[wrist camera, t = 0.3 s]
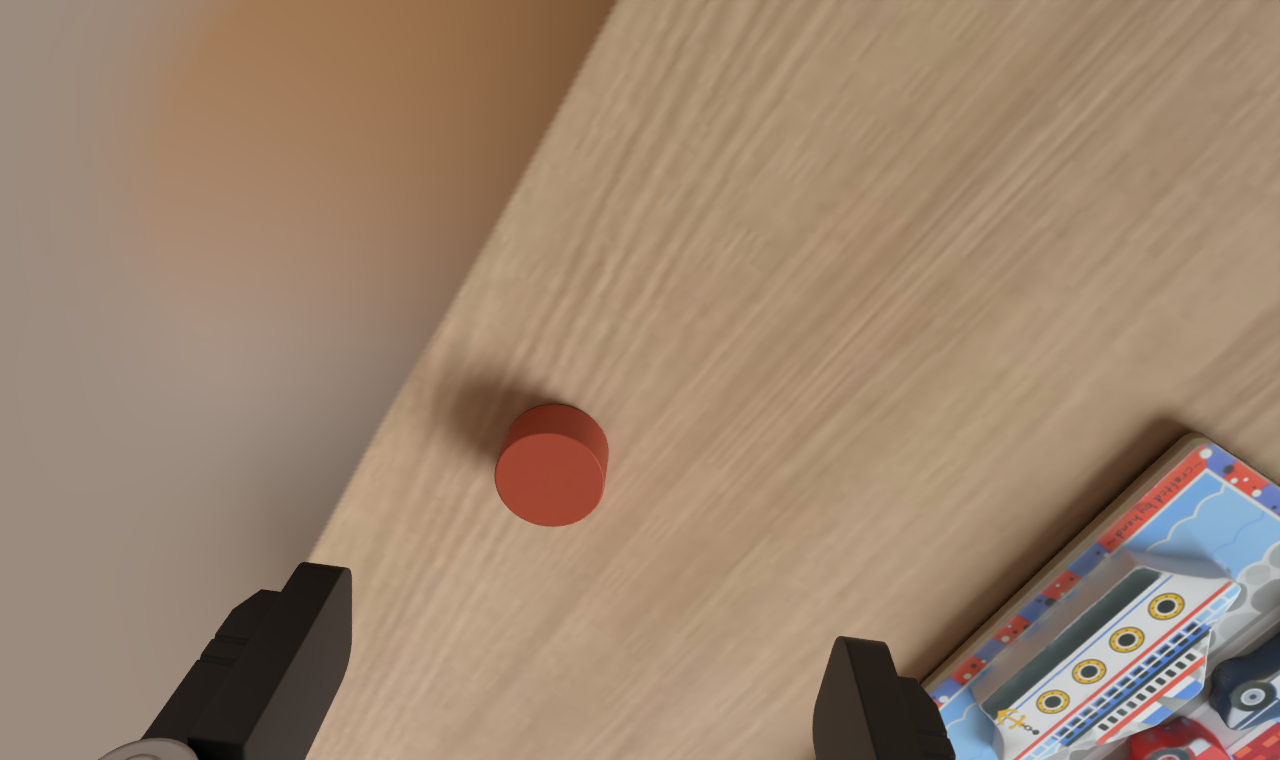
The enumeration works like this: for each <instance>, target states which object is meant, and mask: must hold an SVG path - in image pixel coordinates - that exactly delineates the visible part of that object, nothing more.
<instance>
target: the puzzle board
mask: <svg viewBox="0 0 1280 760" xmlns="http://www.w3.org/2000/svg"><path fill="white" fill-rule="evenodd" d="M920 685H921V686H922V687H923V688H924V690H925V691H926V692H927V693H928V695H929V696H930V697H931V698H932V699H933V701H934V702H935V703H936V704H937V706H938V709H939V711H940V714H941V717H942V719H943V722H944V725H945V728H946V730H947V738H950V741H951V744H952V746H953V749H954V752H955V754H956V760H1280V486H1279V485H1278V484H1276V483H1275V482H1273V481H1272V480H1270V479H1269V478H1267V477H1266V476H1265V475H1263V474H1262V473H1260V472H1259V471H1257V470H1255V469H1254V468H1252V467H1251V466H1249V465H1248V464H1246V463H1245V462H1243V461H1242V460H1240V459H1239V458H1237V457H1236V456H1234V455H1233V454H1231V453H1230V452H1228V451H1227V450H1225V449H1224V448H1222V447H1221V446H1220V445H1218V444H1217V443H1215V442H1214V441H1212V440H1211V439H1209V438H1208V437H1206V436H1205V435H1203V434H1201V433H1196V432H1195V433H1187V434H1186V435H1184V436H1182V437H1181V438H1180V439H1179V440H1178V441H1177V442H1176V443H1175V444H1174V445H1173V446H1172V447H1170V448H1169V449H1168V450H1167V451H1166V452H1165V453H1164V454H1163V455H1162V456H1161V457H1160V458H1159V459H1157V460H1156V461H1155V462H1154V463H1153V464H1152V465H1151V466H1150V467H1149V468H1148V469H1147V470H1146V471H1145V472H1143V473H1142V474H1141V475H1140V476H1139V477H1138V478H1137V479H1136V480H1135V481H1134V482H1133V483H1132V484H1131V485H1130V486H1129V487H1128V488H1127V489H1126V490H1124V491H1123V492H1122V493H1121V494H1120V495H1119V496H1118V497H1117V498H1116V499H1115V500H1114V501H1113V502H1112V503H1111V504H1110V505H1109V506H1108V507H1107V508H1106V509H1104V510H1103V511H1102V512H1101V513H1100V514H1099V515H1098V516H1097V517H1096V518H1095V519H1094V520H1093V521H1092V522H1091V523H1090V524H1089V525H1088V526H1087V527H1085V528H1084V529H1083V530H1082V531H1081V532H1080V533H1079V534H1078V535H1077V536H1076V537H1075V538H1074V539H1073V540H1072V541H1071V542H1070V543H1069V544H1068V545H1067V546H1065V547H1064V548H1063V549H1062V550H1061V551H1060V552H1059V553H1058V554H1057V555H1056V556H1055V557H1054V558H1053V559H1052V560H1051V561H1050V562H1049V563H1048V564H1047V565H1045V566H1044V567H1043V568H1042V569H1041V570H1040V571H1039V572H1038V573H1037V574H1036V575H1035V576H1034V577H1033V578H1032V579H1031V580H1030V581H1029V582H1028V583H1027V584H1026V585H1024V586H1023V587H1022V588H1021V589H1020V590H1019V591H1018V592H1017V593H1016V594H1015V595H1014V596H1013V597H1012V598H1011V599H1010V600H1009V601H1008V602H1007V603H1006V604H1004V605H1003V606H1002V607H1001V608H1000V609H999V610H998V611H997V612H996V613H995V614H994V615H993V616H992V617H991V618H990V619H989V620H988V621H987V622H986V623H985V624H983V625H982V626H981V627H980V628H979V629H978V630H977V631H976V632H975V633H974V634H973V635H972V636H971V637H970V638H969V639H968V640H967V641H966V642H965V643H963V644H962V645H961V646H960V647H959V648H958V649H957V650H956V651H955V652H954V653H953V654H952V655H951V656H950V657H949V658H948V659H947V660H946V661H945V662H944V663H942V664H941V665H940V666H939V667H938V668H937V669H936V670H935V671H934V672H933V673H932V674H931V675H930V676H929V677H928V678H927V679H926V680H925V681H924V682H923V683H921V684H920Z"/></svg>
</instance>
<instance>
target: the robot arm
mask: <svg viewBox="0 0 1280 760" xmlns="http://www.w3.org/2000/svg"><path fill="white" fill-rule="evenodd" d="M351 645H352V575H351V571H350V569H349V568H345V567H338V566H331V565H323V564H316V563H308V562H302V563H300V564H299V565H298V567H297V568H296V570H295V571H294V572H293V574H292V576H291V577H290V579H289V580H288V582H287V583H286V585H285V586H284V588H283V589H282V591H281V592H277V591H270V590H262V589H261V590H260V591H258V592H257V593H256V594H254V595H253V596H251V597H250V598H249V599H247V600H245V601H244V602H243V603H241V604H240V605H238V606H237V607H235V608H234V609H233V610H232V611H231V613H230V614H229V616H228V617H227V618H226V620H225V621H224V623H223V624H222V626H221V627H220V628H219V630H218V631H217V632H216V634H215V638H214V639H212V640H211V641H210V642H209V644H208V645H207V647H206V648H205V649H204V651H203V652H202V654H201V657H200V660H197V661H196V662H195V664H194V665H193V666H192V668H191V669H190V671H189V672H188V673H187V675H186V676H185V678H184V679H183V681H182V682H181V683H180V685H179V686H178V688H177V689H176V690H175V692H174V693H173V695H172V696H171V697H170V699H169V700H168V702H167V703H166V705H165V706H164V707H163V709H162V710H161V712H160V713H159V714H158V716H157V717H156V719H155V720H154V721H153V723H152V725H151V726H150V727H149V729H148V730H147V731H146V733H145V734H144V736H143V737H142V738H141V739H140V740H138V741H134V742H131V743H128V744H125V745H123V746H120V747H118V748H116V749H114V750H112V751H110V752H109V753H107V754H106V755H104V756H103V757H101V758H100V759H98V760H305V758H306V756H307V754H308V752H309V750H310V748H311V746H312V743H313V741H314V739H315V737H316V735H317V733H318V731H319V729H320V727H321V725H322V722H323V720H324V718H325V716H326V714H327V712H328V710H329V708H330V706H331V704H332V701H333V699H334V697H335V695H336V693H337V691H338V689H339V687H340V685H341V683H342V680H343V678H344V675H345V672H346V669H347V666H348V662H349V658H350V652H351ZM813 743H814V749H815V754H816V760H956V754H955V752H954V749H953V746H952V744H951V741H950V738H947V730H946V728H945V725H944V722H943V719H942V717H941V714H940V711H939V709H938V706H937V704H936V703H935V702H934V701H933V699H932V698H931V697H930V696H929V695H928V693H927V692H926V691H925V690H924V688H923V687H922V686H921V685H920V684H919V682H918V681H917V680H916V679H914V678H907V677H899V676H898V675H897V672H896V669H895V666H894V663H893V660H892V657H891V654H890V651H889V648H888V646H887V645H886V643H885V642H881V641H874V640H866V639H859V638H852V637H844V636H839V637H837V639H836V640H835V642H834V645H833V648H832V651H831V655H830V658H829V661H828V664H827V668H826V671H825V674H824V677H823V680H822V684H821V687H820V690H819V693H818V697H817V700H816V704H815V708H814V714H813Z"/></svg>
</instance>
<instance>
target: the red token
mask: <svg viewBox="0 0 1280 760" xmlns="http://www.w3.org/2000/svg"><path fill="white" fill-rule="evenodd" d="M608 451H609V450H608V444H607V440H606V437H605V435H604V433H603V431H602V430H601V428H600V427H599V425H598V424H597V423H596V422H595V421H594V420H593V419H592V418H591V417H589V416H588V415H587V414H585V413H584V412H582V411H580V410H578V409H575V408H573V407H569V406H565V405H555V404H552V405H543V406H539V407H536V408H533V409H531V410H529V411H527V412H525V413H524V414H522V415H521V416H520V417H519V418H517V419H516V421H515V422H514V423H513V424H512V426H511V427H510V429H509V431H508V434H507V436H506V439H505V442H504V444H503V447H502V450H501V453H500V455H499V458H498V461H497V464H496V468H495V484H496V488H497V491H498V494H499V496H500V498H501V499H502V501H503V502H504V504H505V505H506V506H507V507H508V508H509V509H510V510H511V511H512V512H513V513H514V514H516V515H517V516H519V517H520V518H522V519H524V520H526V521H528V522H531V523H533V524H537V525H542V526H551V527H555V526H564V525H569V524H572V523H575V522H577V521H579V520H581V519H583V518H585V517H586V516H587V515H588V514H590V513H591V512H592V511H593V510H594V509H595V508H596V506H597V505H598V503H599V501H600V500H601V497H602V495H603V491H604V485H605V478H606V470H607V463H608Z"/></svg>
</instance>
